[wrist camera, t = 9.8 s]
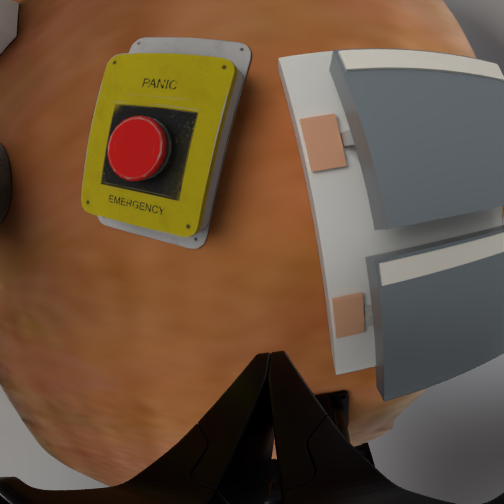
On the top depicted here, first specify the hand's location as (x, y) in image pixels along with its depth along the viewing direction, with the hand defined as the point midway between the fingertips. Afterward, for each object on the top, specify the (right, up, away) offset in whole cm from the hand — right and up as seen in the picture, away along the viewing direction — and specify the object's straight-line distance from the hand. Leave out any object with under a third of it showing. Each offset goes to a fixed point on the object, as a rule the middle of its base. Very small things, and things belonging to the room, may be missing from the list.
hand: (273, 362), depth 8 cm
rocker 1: (+10, +10, +3) cm, 14 cm away
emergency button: (-7, +12, +10) cm, 17 cm away
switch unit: (+11, +6, +9) cm, 16 cm away
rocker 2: (+13, 0, +6) cm, 14 cm away
